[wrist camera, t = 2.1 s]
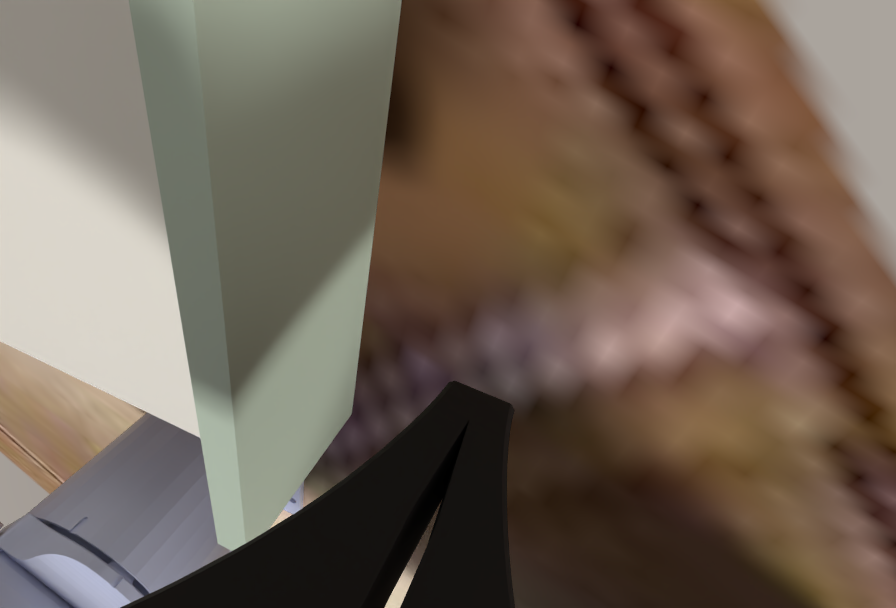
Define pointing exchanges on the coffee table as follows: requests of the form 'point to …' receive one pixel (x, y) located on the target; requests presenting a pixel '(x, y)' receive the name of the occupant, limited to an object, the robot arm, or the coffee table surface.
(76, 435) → the coffee table surface
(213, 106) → the lid
